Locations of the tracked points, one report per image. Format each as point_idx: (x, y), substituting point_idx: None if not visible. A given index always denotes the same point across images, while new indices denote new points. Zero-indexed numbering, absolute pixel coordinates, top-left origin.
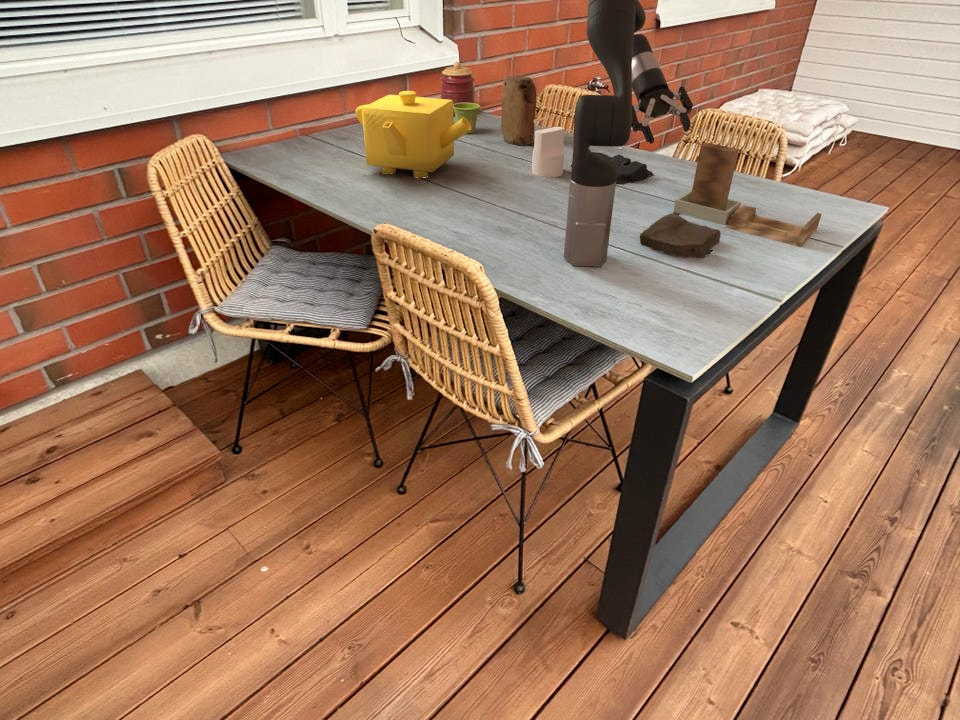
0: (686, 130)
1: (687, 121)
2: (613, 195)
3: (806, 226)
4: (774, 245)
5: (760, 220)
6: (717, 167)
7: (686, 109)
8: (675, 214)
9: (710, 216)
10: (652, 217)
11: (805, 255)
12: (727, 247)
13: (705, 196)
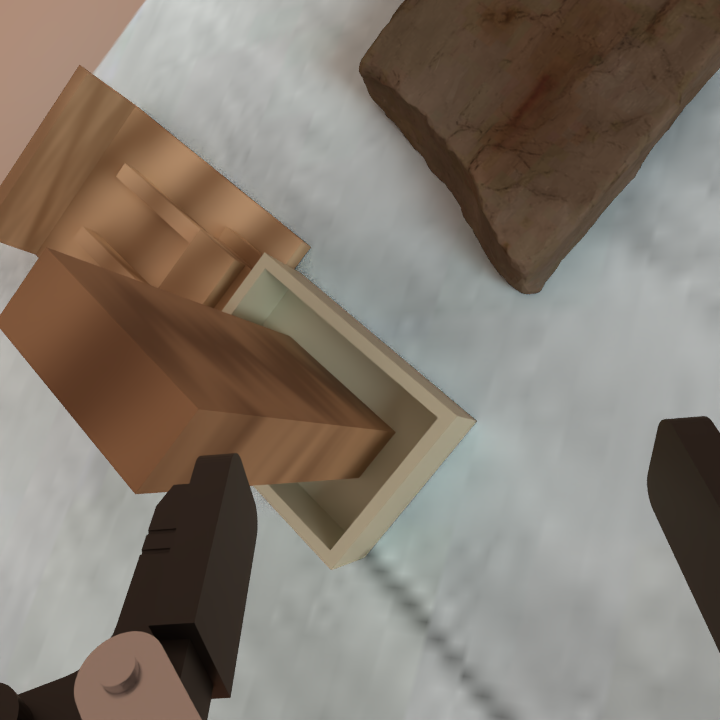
0: (245, 481)
1: (184, 506)
2: None
3: (65, 96)
4: (189, 140)
5: None
6: (186, 329)
7: (69, 712)
8: (504, 241)
9: (329, 302)
10: (591, 398)
11: (136, 78)
12: (348, 92)
13: (306, 376)
